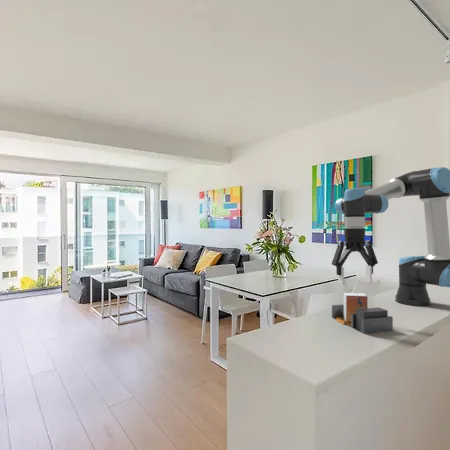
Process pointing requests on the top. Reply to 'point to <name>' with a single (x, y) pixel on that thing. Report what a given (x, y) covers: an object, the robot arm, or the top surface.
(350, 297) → the small box
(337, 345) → the top surface
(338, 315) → the rack
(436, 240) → the robot arm
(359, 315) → the dark grey box
